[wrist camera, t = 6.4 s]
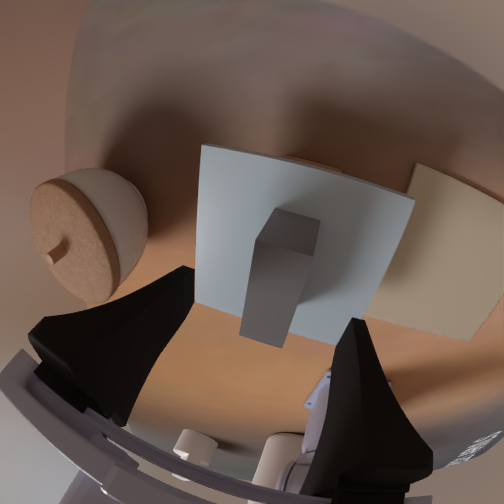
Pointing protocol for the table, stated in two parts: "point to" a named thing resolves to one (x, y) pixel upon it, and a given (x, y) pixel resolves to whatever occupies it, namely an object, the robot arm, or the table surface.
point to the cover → (291, 243)
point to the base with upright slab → (195, 449)
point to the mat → (444, 259)
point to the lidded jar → (89, 230)
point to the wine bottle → (276, 458)
